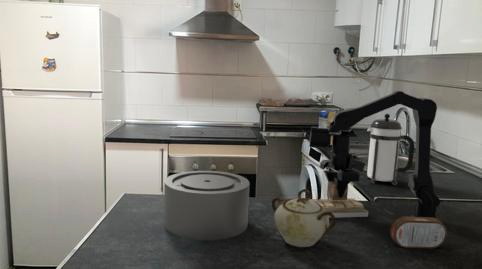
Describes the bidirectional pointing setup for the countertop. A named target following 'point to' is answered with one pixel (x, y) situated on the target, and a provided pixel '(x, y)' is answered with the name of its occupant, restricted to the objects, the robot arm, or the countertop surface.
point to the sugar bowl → (301, 220)
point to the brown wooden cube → (335, 192)
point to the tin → (418, 232)
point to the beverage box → (326, 119)
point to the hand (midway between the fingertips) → (337, 195)
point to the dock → (350, 213)
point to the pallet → (340, 204)
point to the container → (206, 205)
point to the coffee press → (386, 150)
